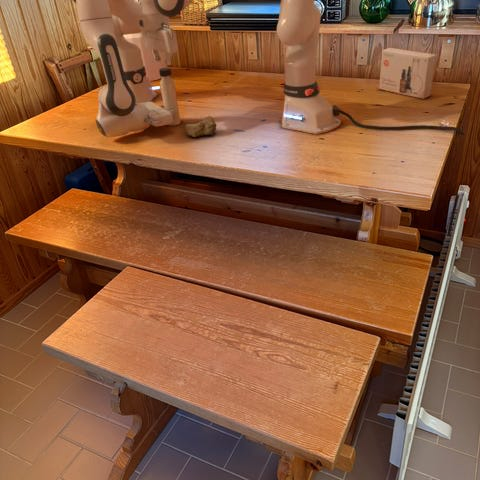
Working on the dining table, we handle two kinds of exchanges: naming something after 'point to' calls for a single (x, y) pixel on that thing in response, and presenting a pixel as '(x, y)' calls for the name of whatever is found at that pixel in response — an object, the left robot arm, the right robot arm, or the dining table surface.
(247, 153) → the dining table surface
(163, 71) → the cap
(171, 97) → the bottle
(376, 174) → the dining table surface
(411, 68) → the skincare box
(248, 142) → the dining table surface
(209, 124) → the rock
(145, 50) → the container
